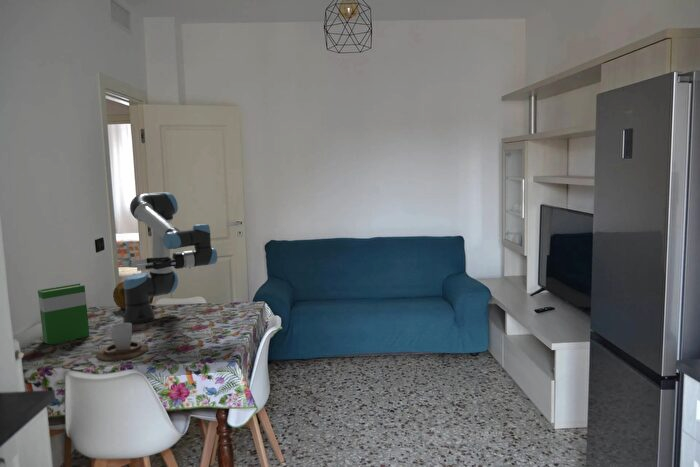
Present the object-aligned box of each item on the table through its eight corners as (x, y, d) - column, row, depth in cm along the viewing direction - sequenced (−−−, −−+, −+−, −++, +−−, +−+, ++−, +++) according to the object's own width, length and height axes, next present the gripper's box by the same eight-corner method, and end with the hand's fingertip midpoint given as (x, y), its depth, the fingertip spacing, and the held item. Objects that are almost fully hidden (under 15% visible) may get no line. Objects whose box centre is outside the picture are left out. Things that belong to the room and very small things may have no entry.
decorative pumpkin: (113, 305, 309) (113, 270, 307) (152, 303, 318) (152, 269, 315) (113, 315, 291) (113, 278, 289) (154, 312, 299) (155, 277, 297)
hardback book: (84, 332, 261) (79, 283, 258) (89, 335, 255) (84, 285, 252) (43, 341, 249) (37, 290, 246) (47, 345, 243) (42, 292, 240)
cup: (137, 346, 233) (135, 323, 232) (124, 352, 226) (122, 328, 225) (122, 344, 236) (120, 322, 235) (108, 350, 228) (106, 327, 227)
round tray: (117, 343, 241) (117, 338, 241) (157, 345, 236) (157, 340, 236) (85, 359, 222) (85, 353, 221) (128, 362, 217) (128, 356, 216)
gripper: (190, 271, 241) (140, 278, 230) (176, 264, 262) (130, 270, 251) (189, 255, 240) (138, 260, 229) (175, 248, 261) (128, 254, 251)
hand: (134, 265), depth 240 cm, fingers open, 13 cm apart
